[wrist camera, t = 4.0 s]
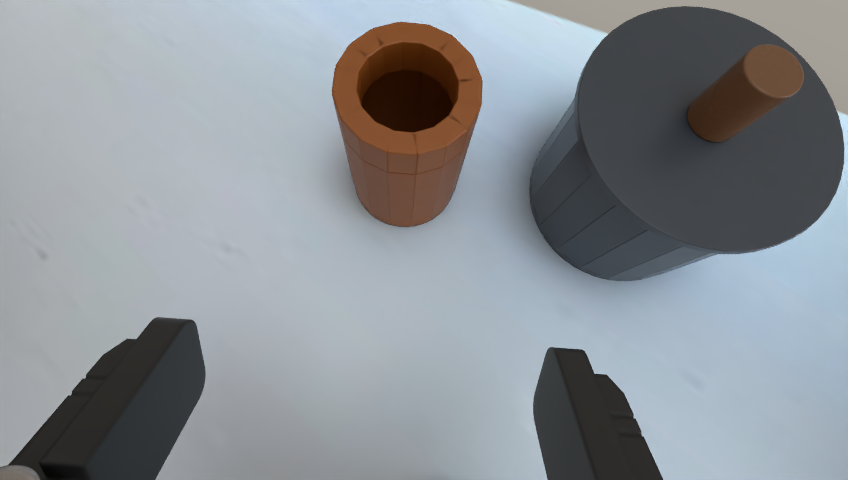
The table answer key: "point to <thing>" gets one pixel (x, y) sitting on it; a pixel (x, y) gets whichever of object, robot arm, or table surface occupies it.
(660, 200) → the tin lid
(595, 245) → the tin
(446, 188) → the jar
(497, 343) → the table surface
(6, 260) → the table surface
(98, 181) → the table surface
